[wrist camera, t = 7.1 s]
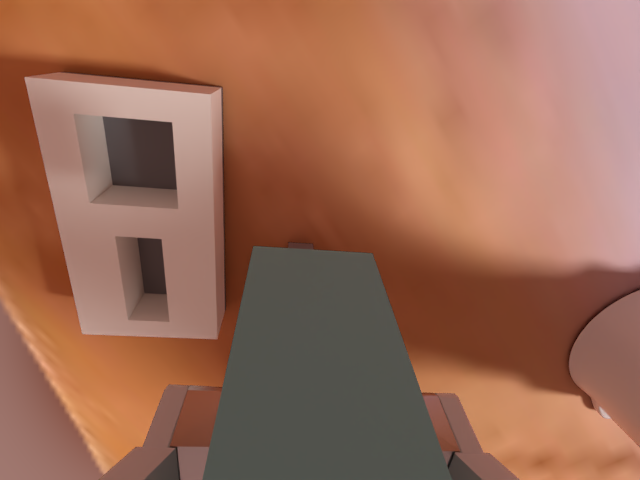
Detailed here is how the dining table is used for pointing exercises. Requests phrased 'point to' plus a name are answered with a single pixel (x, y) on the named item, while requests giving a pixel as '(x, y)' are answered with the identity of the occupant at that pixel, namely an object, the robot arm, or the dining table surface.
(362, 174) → the dining table surface
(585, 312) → the dining table surface
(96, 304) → the socket block
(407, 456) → the square peg
